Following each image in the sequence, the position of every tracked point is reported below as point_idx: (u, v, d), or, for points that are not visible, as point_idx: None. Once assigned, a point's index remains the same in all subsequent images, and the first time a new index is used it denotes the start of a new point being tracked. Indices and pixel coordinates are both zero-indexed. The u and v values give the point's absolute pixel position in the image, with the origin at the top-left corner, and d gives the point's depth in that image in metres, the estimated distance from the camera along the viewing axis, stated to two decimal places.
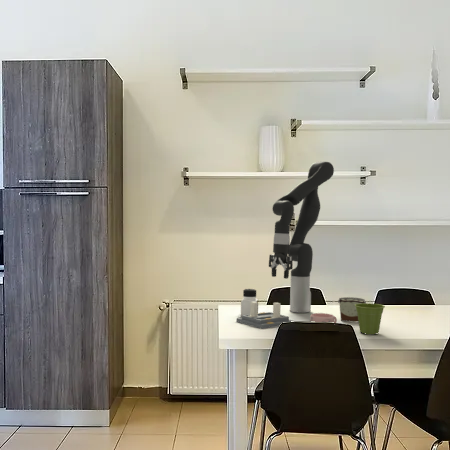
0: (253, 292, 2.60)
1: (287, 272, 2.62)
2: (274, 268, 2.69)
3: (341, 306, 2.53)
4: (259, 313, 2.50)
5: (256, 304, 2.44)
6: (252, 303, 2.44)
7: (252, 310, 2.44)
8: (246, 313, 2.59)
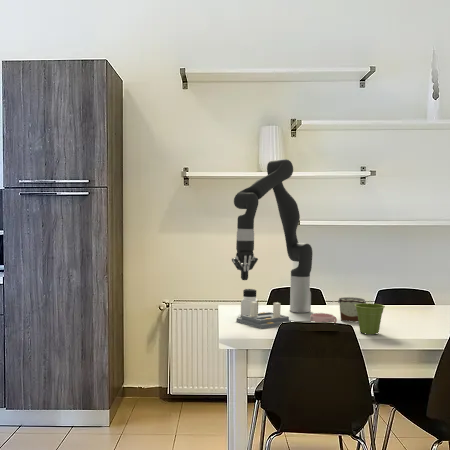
0: (253, 292, 2.60)
1: None
2: None
3: (341, 306, 2.53)
4: (259, 313, 2.50)
5: (256, 304, 2.44)
6: (252, 303, 2.44)
7: (252, 310, 2.44)
8: (246, 313, 2.59)
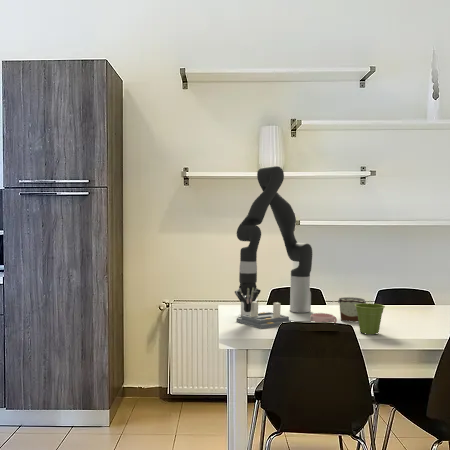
0: None
1: None
2: None
3: (341, 306, 2.53)
4: (259, 313, 2.50)
5: (256, 304, 2.44)
6: (252, 303, 2.44)
7: (252, 310, 2.44)
8: (246, 313, 2.59)
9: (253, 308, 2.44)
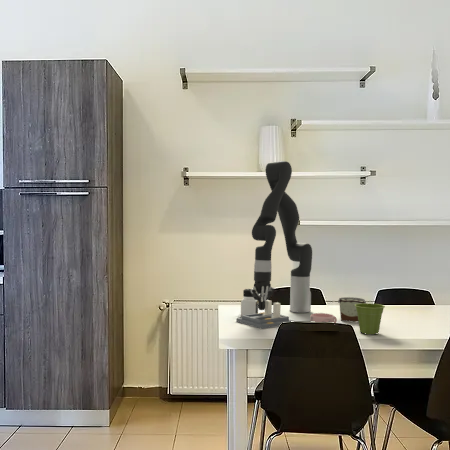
0: None
1: None
2: None
3: (341, 306, 2.53)
4: (259, 313, 2.50)
5: (270, 303, 2.49)
6: (266, 302, 2.49)
7: (266, 308, 2.49)
8: (246, 313, 2.59)
9: (267, 306, 2.49)
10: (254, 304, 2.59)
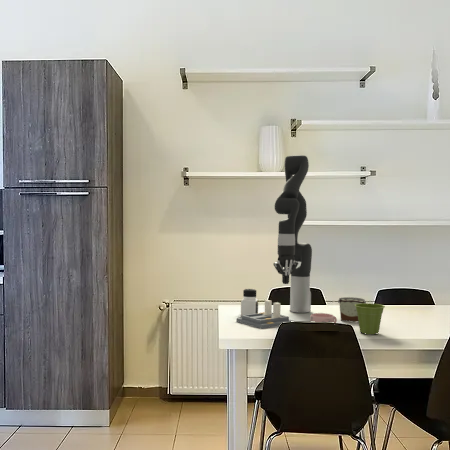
0: (253, 292, 2.60)
1: None
2: None
3: (341, 306, 2.53)
4: (259, 313, 2.50)
5: (270, 303, 2.49)
6: (266, 302, 2.49)
7: (266, 308, 2.49)
8: (246, 313, 2.59)
9: (267, 306, 2.49)
10: (254, 304, 2.59)
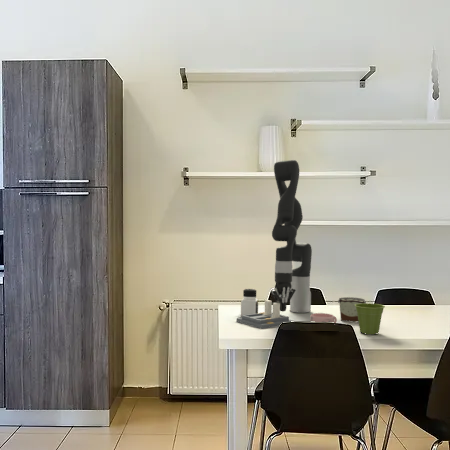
0: (253, 292, 2.60)
1: None
2: None
3: (341, 306, 2.53)
4: (259, 313, 2.50)
5: (270, 303, 2.49)
6: (266, 302, 2.49)
7: (266, 308, 2.49)
8: (246, 313, 2.59)
9: (267, 306, 2.49)
10: (254, 304, 2.59)
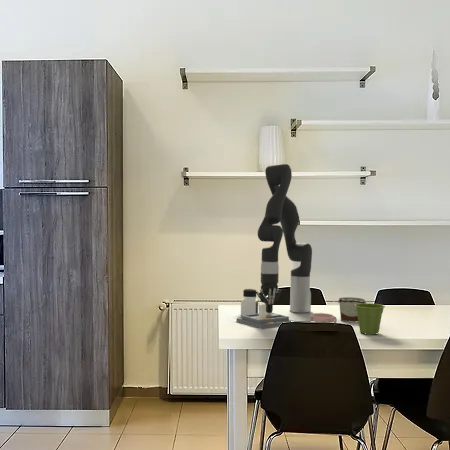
0: (253, 292, 2.60)
1: None
2: None
3: (341, 306, 2.53)
4: None
5: None
6: None
7: None
8: (246, 313, 2.59)
9: None
10: (254, 304, 2.59)
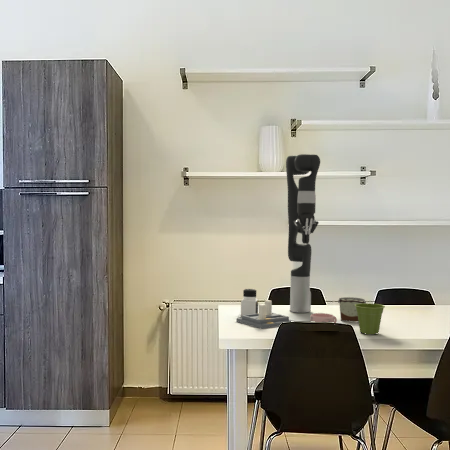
0: (253, 292, 2.60)
1: None
2: None
3: (341, 306, 2.53)
4: None
5: (270, 303, 2.49)
6: (266, 302, 2.49)
7: (266, 308, 2.49)
8: (246, 313, 2.59)
9: (267, 306, 2.49)
10: (254, 304, 2.59)
